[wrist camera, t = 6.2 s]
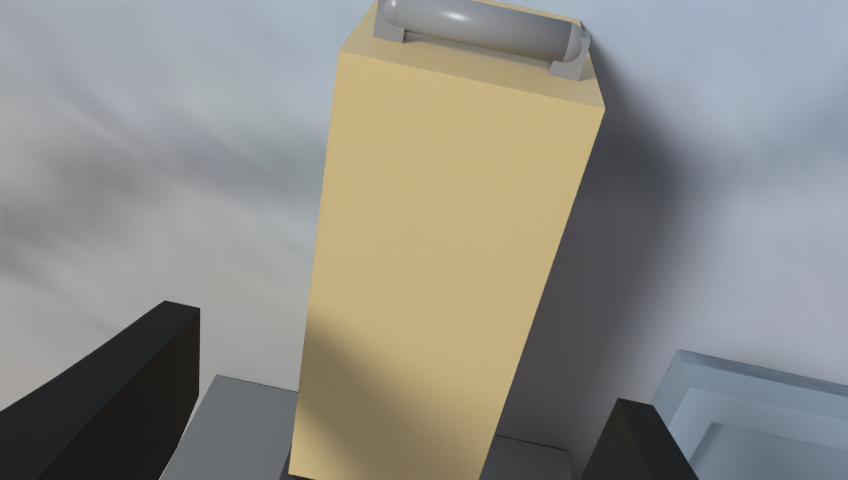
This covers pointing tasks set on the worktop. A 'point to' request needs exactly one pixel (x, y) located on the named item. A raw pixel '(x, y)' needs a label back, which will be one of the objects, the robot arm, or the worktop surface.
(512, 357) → the tan block with handle
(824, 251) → the worktop surface
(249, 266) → the worktop surface
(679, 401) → the tray
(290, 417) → the dock
